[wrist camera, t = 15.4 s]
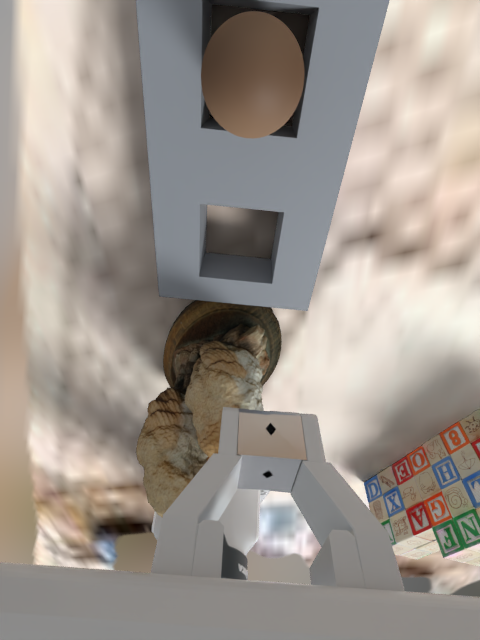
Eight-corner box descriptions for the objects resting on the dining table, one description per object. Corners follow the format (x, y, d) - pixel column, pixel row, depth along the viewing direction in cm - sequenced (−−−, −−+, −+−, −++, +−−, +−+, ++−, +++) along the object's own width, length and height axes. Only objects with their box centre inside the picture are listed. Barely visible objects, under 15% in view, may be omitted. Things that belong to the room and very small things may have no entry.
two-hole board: (302, 284, 30) (307, 310, 27) (169, 271, 30) (159, 296, 27) (378, -34, 18) (403, -53, 15) (152, -60, 18) (129, -85, 15)
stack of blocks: (394, 491, 54) (423, 587, 44) (362, 481, 52) (385, 579, 42) (516, 422, 41) (594, 534, 32) (479, 406, 40) (549, 519, 30)
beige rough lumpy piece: (247, 413, 43) (239, 577, 29) (155, 392, 41) (103, 555, 28) (304, 305, 32) (332, 489, 18) (182, 271, 30) (116, 444, 17)
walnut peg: (283, 114, 22) (296, 147, 14) (219, 107, 22) (196, 137, 14) (296, 28, 20) (319, 12, 12) (222, 20, 19) (197, -2, 12)
